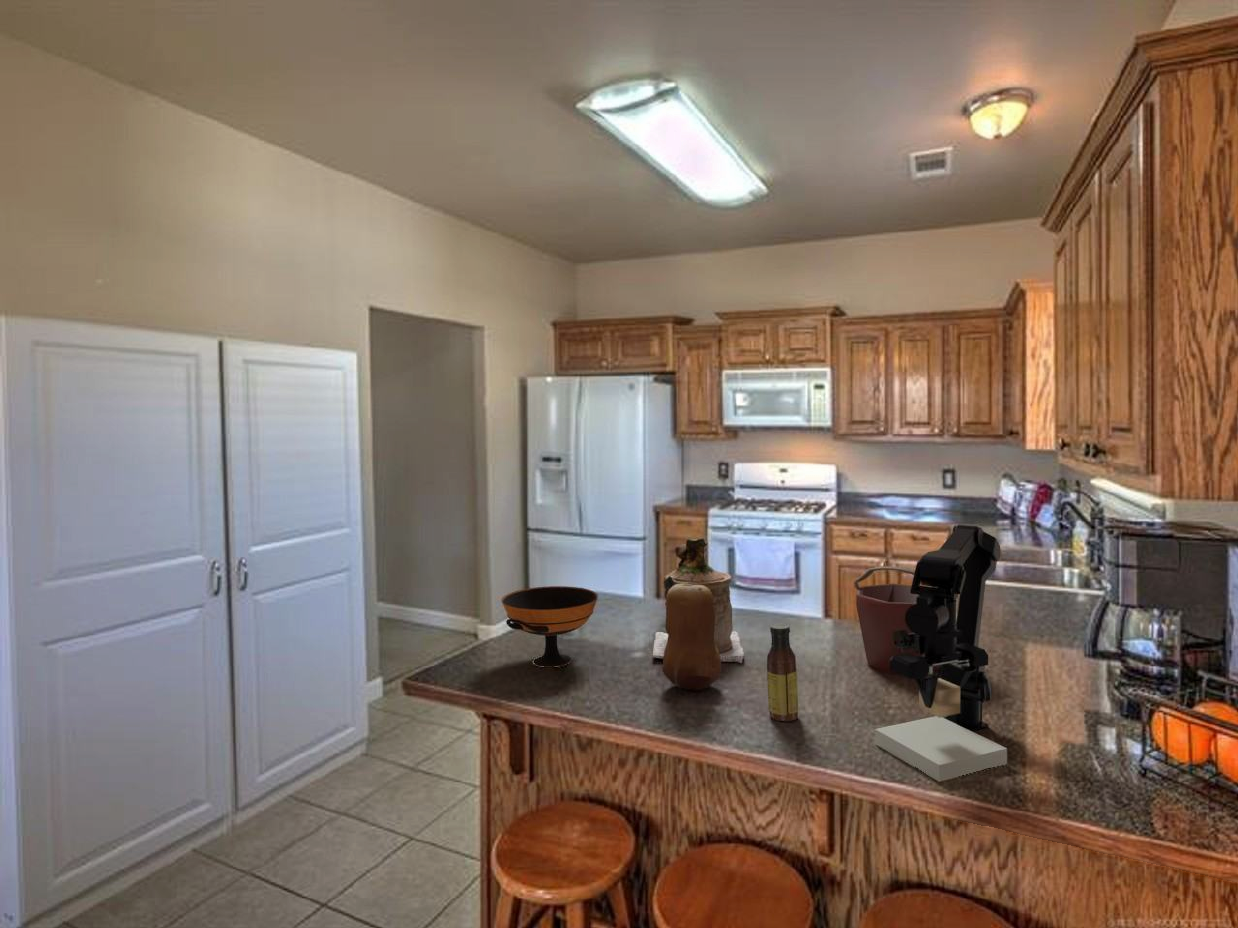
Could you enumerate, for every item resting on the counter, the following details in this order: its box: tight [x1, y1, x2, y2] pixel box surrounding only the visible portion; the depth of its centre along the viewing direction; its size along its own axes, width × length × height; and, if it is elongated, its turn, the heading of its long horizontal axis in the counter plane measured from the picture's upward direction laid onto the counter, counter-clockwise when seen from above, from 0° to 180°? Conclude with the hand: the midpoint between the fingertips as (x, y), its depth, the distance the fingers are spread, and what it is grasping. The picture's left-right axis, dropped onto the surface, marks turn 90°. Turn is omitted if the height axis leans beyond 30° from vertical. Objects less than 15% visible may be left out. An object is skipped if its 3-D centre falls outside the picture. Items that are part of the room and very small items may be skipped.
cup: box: [501, 585, 599, 667], centre depth 190 cm, size 36×26×18 cm
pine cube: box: [918, 678, 960, 718], centre depth 134 cm, size 5×5×5 cm
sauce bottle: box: [766, 623, 799, 723], centre depth 152 cm, size 7×6×20 cm
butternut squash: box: [662, 583, 722, 692], centre depth 170 cm, size 14×13×25 cm
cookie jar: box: [652, 537, 745, 664], centre depth 199 cm, size 25×25×32 cm
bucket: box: [853, 565, 939, 676], centre depth 184 cm, size 24×22×25 cm
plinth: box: [874, 715, 1008, 783], centre depth 134 cm, size 16×16×3 cm
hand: (939, 704), depth 134 cm, fingers closed on pine cube, 5 cm apart
